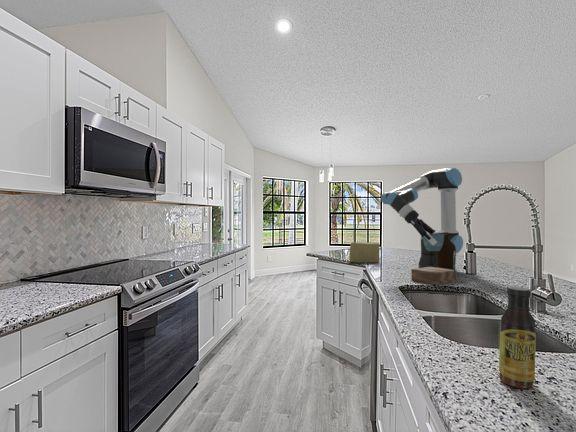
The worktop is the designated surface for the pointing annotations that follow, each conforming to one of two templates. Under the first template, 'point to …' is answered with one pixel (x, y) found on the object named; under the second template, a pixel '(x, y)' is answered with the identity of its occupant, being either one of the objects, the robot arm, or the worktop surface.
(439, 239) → the flower pot
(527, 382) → the sauce bottle
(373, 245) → the cheese
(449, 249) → the olive oil
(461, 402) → the worktop surface
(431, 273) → the walnut base
